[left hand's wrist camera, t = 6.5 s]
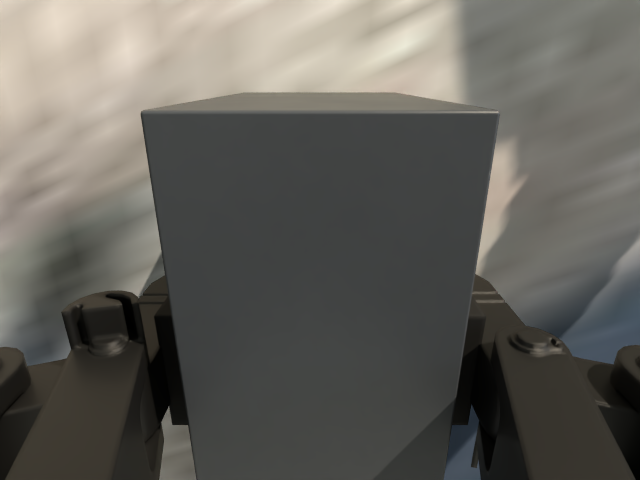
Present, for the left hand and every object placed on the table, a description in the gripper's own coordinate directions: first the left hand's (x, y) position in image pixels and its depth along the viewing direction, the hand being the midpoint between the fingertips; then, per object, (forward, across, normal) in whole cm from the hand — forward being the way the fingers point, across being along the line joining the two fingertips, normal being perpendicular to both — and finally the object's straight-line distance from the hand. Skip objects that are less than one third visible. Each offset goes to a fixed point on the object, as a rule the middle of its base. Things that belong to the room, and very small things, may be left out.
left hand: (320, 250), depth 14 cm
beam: (+1, 0, -24) cm, 24 cm away
